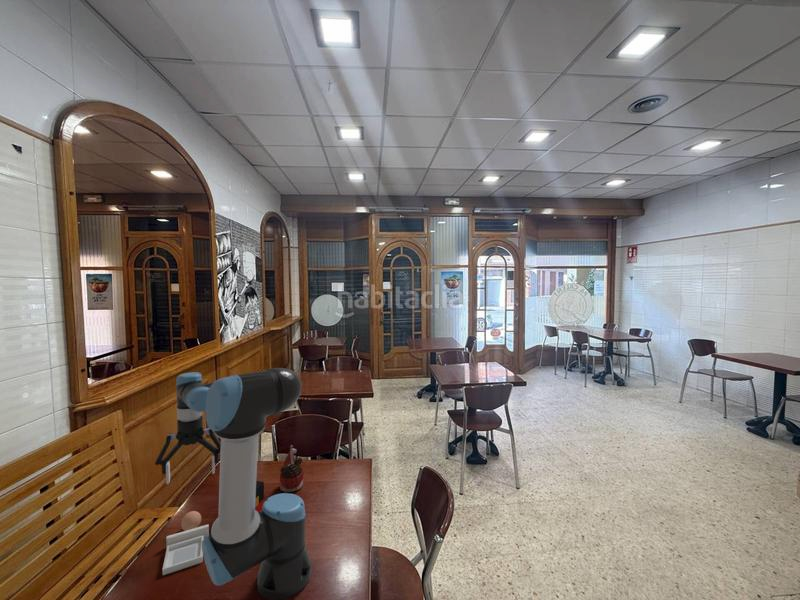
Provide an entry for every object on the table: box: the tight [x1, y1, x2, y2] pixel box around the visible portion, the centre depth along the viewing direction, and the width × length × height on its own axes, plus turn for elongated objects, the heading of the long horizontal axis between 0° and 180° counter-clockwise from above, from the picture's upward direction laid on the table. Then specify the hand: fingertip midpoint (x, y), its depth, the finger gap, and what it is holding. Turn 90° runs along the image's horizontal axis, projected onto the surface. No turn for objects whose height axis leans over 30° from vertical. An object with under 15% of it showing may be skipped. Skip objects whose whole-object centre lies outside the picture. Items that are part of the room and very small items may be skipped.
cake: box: [279, 444, 304, 493], centre depth 143 cm, size 11×9×18 cm
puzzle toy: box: [255, 480, 265, 512], centre depth 127 cm, size 10×10×10 cm
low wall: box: [165, 524, 210, 547], centre depth 113 cm, size 1×12×4 cm, turn 118°
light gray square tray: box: [162, 535, 205, 576], centre depth 106 cm, size 10×10×2 cm
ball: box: [180, 510, 202, 531], centre depth 118 cm, size 6×6×6 cm
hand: (191, 476), depth 118 cm, fingers open, 13 cm apart
